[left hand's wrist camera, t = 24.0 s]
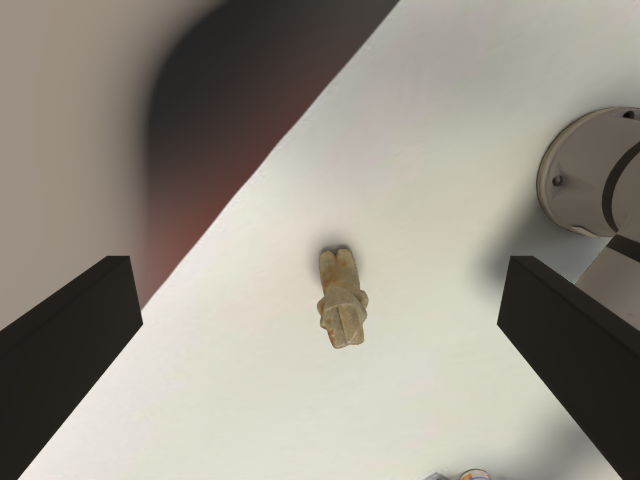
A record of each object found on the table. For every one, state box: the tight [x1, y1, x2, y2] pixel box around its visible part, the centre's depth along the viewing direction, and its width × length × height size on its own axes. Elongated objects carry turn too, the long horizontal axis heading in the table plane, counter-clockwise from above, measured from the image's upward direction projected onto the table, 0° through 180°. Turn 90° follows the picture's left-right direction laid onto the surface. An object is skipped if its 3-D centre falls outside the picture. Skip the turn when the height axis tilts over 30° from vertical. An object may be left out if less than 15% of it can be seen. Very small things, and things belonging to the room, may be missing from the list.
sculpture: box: [317, 249, 368, 349], centre depth 42 cm, size 6×7×15 cm
